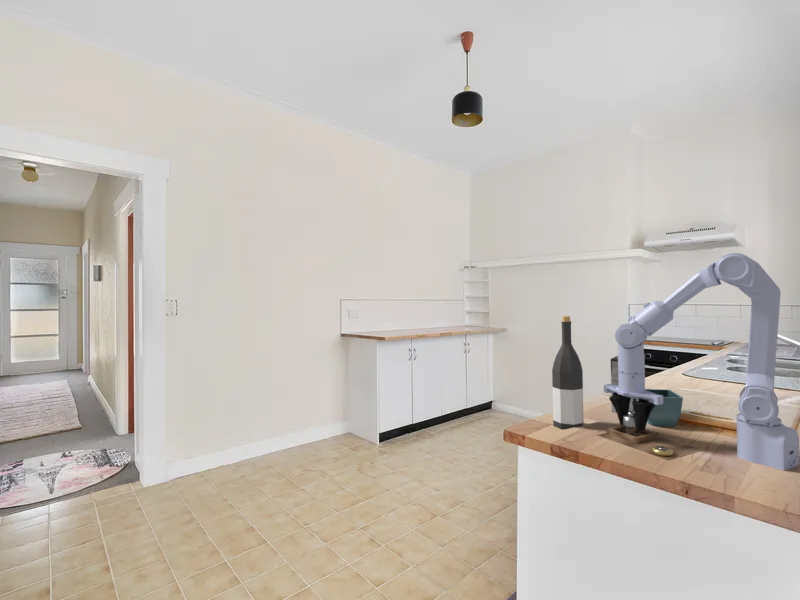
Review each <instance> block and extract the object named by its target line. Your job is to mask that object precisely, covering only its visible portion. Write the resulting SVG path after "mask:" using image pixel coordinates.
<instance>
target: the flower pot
mask: <svg viewBox="0 0 800 600" xmlns="http://www.w3.org/2000/svg"><path fill="white" fill-rule="evenodd" d="M645 390H646V391H649V392H652V393H655V394H658V395H662V396H663V404H661V405H655V407H654V408H653V410H652V411H651V413H650V415H649V418H648V420H647V424H649V425H650V426H653V427H654V426H659V427H662V426H663V427H675V426H676V425H677V423H678V422H679V420H680V418H681V414H682V409H683V399H684V397H683V396H682V395H680V394H679V393H677V392H675V391H673V390H671V389H660V388H659V389H653V388H652V389H651V388H650V389H649V388H645ZM637 401H639V400H638V399H637Z"/></svg>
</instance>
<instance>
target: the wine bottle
mask: <svg viewBox="0 0 800 600" xmlns="http://www.w3.org/2000/svg"><path fill="white" fill-rule="evenodd" d="M560 323H561V345H560V348H559V350H558V352H557V353H556V356H555V358H554V361H553V365H552V370H551V375H552V378H551V379H552V383H551V384H552V418H553V419H552V421H553V422H552V423H553V426H554V427H555V428H558V429H561V430H569V429H574V428H579V427H583V426H584V420H585V419H584V381H583V380H584V379H583V378H584V377H583V376H584V375H583V373H584V371H583V367H582V363H581V362H582V361H581V360H580V358H579V355H578V353H577V351H576V350H575V348H574V347H573V344H572V321H571V316H569V315H563V316H562V317H561V321H560Z"/></svg>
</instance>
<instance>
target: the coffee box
mask: <svg viewBox="0 0 800 600" xmlns="http://www.w3.org/2000/svg"><path fill="white" fill-rule="evenodd" d="M610 384H611V385H618V386H619V382H618V355H617V356H614V357H612V358H610ZM610 394H611V395H610V396H612V395H613V393H610ZM635 401H637V399H634V398H631V400H630V405H629V411H635V410H634V407H633V404H632V402H635ZM610 402H611V401H610ZM611 412H613V413H616V410H615V408H614V406H613V404H612V402H611Z"/></svg>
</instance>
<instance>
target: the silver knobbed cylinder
mask: <svg viewBox="0 0 800 600" xmlns="http://www.w3.org/2000/svg"><path fill="white" fill-rule="evenodd" d="M623 430H624V431H625V432H628V433H635V434H637V433H641V432H642V431H638V430H637V428H636V415H635V411H628V412H627V414H624V415H623Z"/></svg>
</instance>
